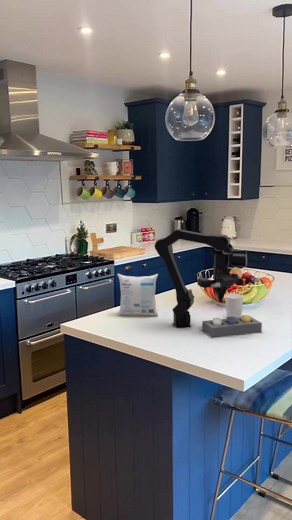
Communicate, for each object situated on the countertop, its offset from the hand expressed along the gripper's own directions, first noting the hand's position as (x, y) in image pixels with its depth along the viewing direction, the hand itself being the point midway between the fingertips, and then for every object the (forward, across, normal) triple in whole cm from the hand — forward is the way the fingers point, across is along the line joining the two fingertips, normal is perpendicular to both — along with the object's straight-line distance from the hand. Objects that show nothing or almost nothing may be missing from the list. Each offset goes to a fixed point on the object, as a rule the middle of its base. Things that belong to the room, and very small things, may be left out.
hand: (219, 302), depth 190 cm
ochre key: (+9, +10, -5) cm, 15 cm away
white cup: (+12, +13, +13) cm, 22 cm away
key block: (+12, +4, -5) cm, 13 cm away
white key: (+10, -3, -5) cm, 11 cm away
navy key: (+10, +3, -5) cm, 11 cm away
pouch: (+13, -28, +30) cm, 43 cm away
